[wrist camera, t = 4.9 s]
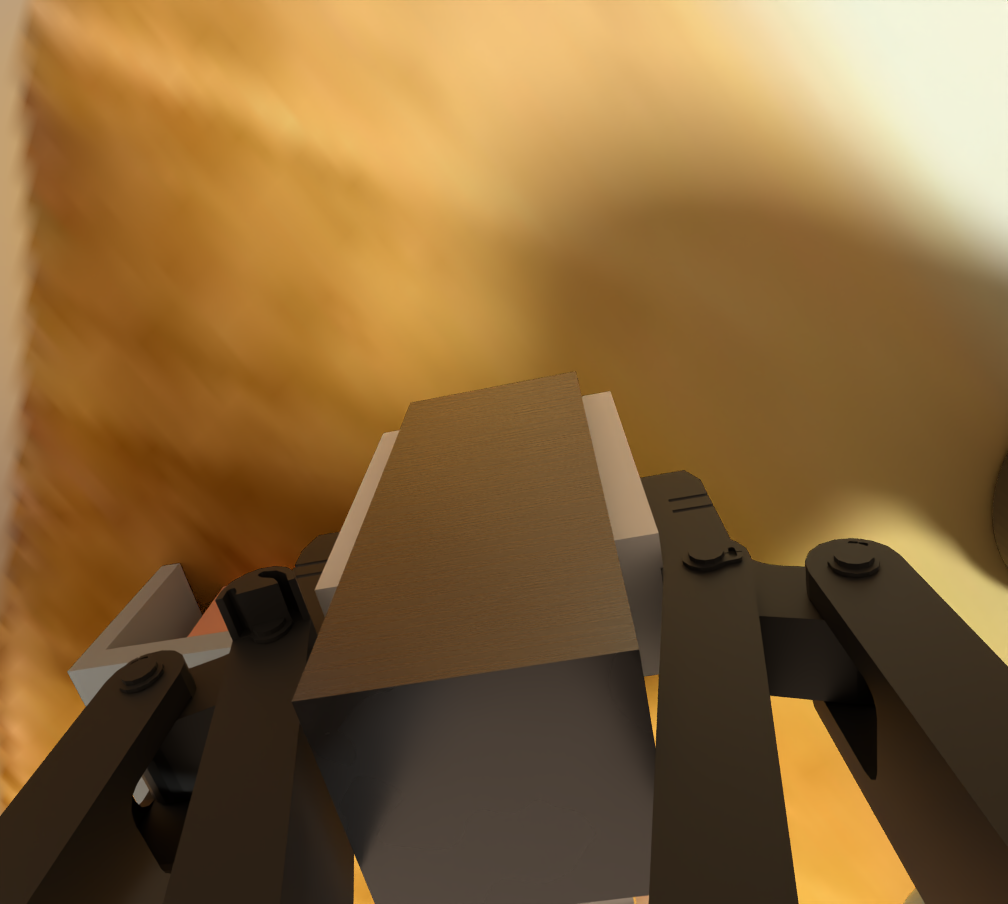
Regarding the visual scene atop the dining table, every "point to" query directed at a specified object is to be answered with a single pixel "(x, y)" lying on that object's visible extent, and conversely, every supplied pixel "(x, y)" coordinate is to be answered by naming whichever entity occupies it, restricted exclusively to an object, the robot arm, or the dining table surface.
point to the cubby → (149, 636)
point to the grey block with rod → (487, 666)
